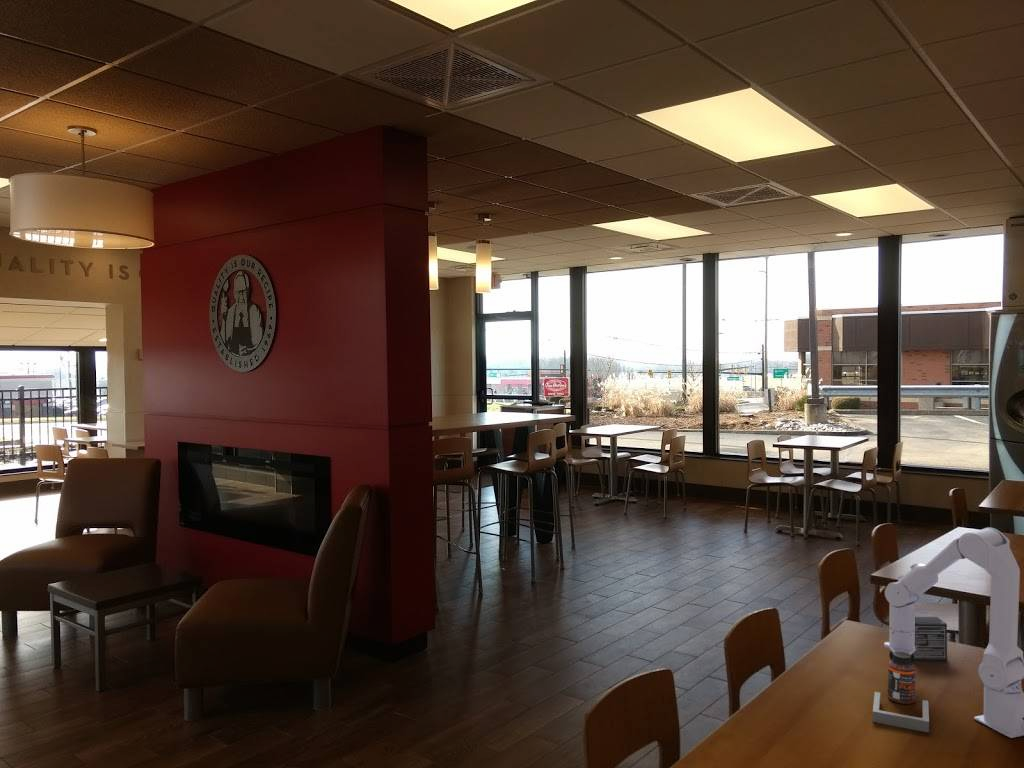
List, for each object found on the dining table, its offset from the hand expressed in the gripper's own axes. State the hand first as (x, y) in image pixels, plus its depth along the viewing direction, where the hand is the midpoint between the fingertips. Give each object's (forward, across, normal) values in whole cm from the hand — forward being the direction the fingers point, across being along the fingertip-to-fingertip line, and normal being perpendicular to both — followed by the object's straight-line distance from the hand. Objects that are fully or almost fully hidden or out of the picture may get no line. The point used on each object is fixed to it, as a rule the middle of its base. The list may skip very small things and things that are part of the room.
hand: (901, 681), depth 194 cm
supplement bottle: (+2, +8, 0) cm, 8 cm away
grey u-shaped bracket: (+1, +17, 0) cm, 17 cm away
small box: (+2, -24, +5) cm, 24 cm away
